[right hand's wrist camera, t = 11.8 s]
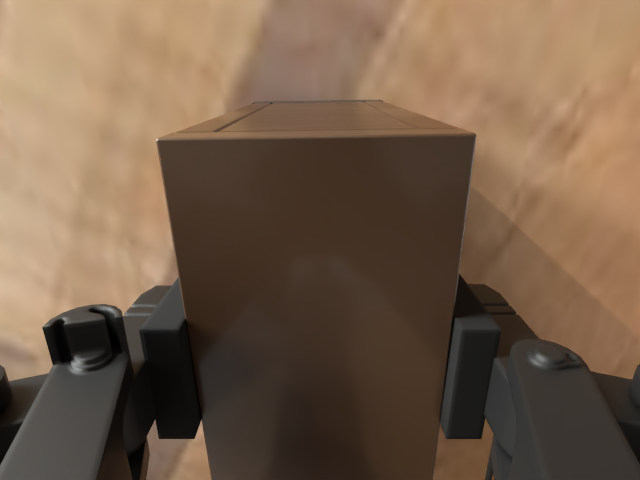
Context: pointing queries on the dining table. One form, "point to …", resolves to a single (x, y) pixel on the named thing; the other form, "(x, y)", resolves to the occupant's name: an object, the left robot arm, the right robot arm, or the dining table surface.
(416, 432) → the cabinet
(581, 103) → the dining table surface
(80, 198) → the dining table surface
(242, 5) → the dining table surface
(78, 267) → the dining table surface
